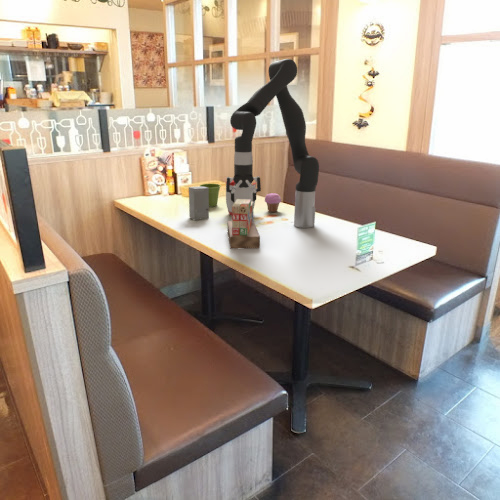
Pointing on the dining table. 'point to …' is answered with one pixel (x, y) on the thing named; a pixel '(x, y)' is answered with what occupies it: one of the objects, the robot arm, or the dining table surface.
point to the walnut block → (244, 238)
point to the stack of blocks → (242, 216)
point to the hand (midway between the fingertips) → (243, 201)
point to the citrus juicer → (239, 195)
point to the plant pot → (213, 193)
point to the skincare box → (199, 203)
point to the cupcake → (272, 201)
